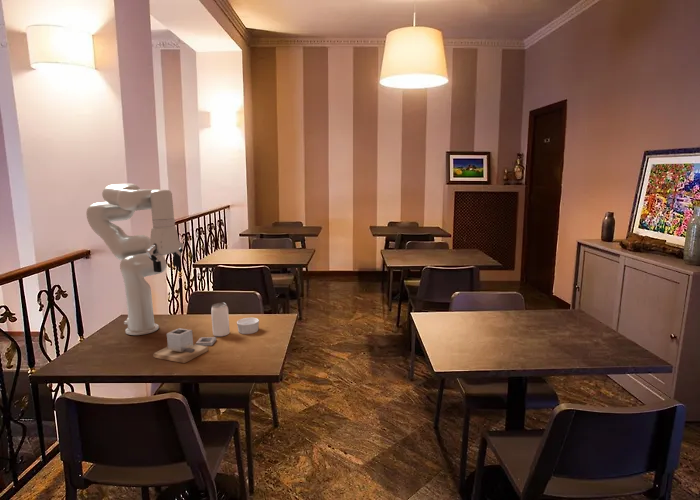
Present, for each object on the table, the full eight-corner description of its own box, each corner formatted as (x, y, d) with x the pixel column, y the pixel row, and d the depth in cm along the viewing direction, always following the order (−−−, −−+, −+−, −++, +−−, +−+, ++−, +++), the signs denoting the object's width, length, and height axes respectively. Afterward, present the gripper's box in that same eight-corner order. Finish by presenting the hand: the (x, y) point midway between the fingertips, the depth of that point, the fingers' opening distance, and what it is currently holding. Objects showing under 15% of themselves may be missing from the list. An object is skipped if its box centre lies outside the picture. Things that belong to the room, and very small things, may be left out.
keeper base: (153, 357, 167) (151, 334, 166) (178, 345, 178) (176, 323, 177) (184, 363, 162) (182, 339, 160) (208, 350, 173) (206, 328, 171)
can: (225, 337, 186) (223, 307, 184) (209, 336, 187) (207, 307, 185) (232, 331, 192) (230, 303, 190) (217, 331, 194) (215, 302, 191)
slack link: (196, 346, 177) (195, 343, 177) (200, 340, 183) (200, 337, 183) (212, 345, 177) (211, 342, 177) (216, 339, 183) (216, 336, 183)
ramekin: (257, 334, 188) (256, 324, 188) (234, 335, 189) (234, 324, 188) (261, 327, 197) (261, 317, 196) (240, 327, 197) (239, 317, 197)
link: (168, 349, 168) (166, 333, 167) (180, 343, 174) (178, 328, 172) (181, 351, 166) (179, 335, 165) (193, 345, 171) (191, 329, 170)
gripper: (173, 220, 185) (177, 264, 187) (137, 226, 169) (141, 273, 172) (188, 221, 181) (191, 265, 184) (153, 226, 166) (157, 274, 169)
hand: (167, 269), depth 178 cm, fingers open, 9 cm apart
